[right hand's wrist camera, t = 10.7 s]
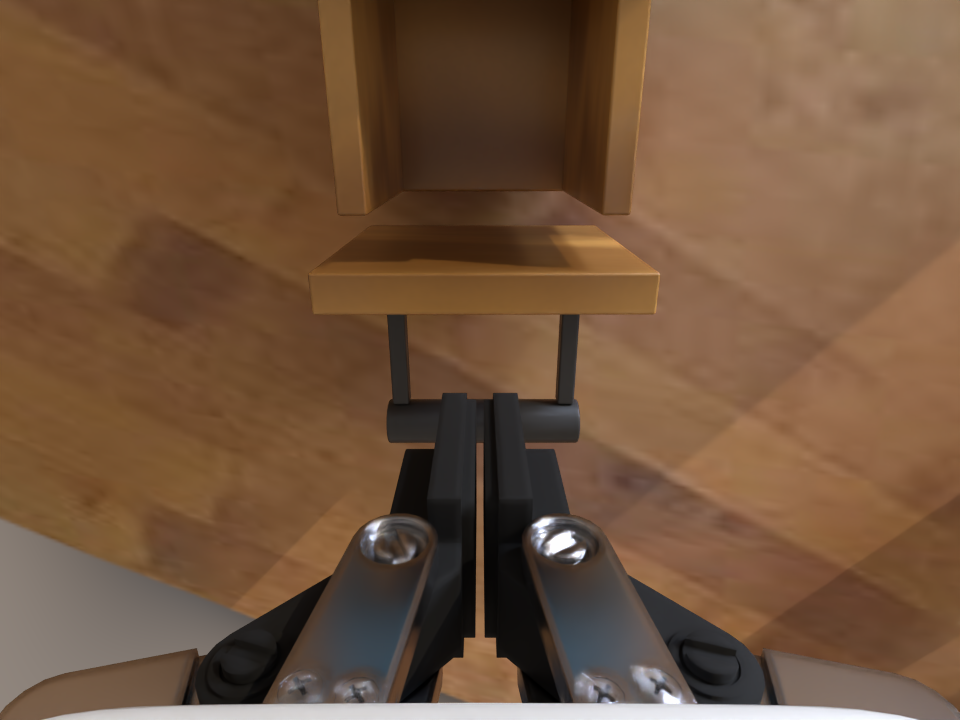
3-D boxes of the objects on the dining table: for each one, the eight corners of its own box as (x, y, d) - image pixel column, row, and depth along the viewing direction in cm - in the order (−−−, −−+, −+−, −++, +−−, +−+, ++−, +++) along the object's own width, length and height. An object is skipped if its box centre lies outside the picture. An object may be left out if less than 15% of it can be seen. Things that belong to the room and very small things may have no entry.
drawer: (584, 379, 26) (634, 494, 18) (380, 379, 26) (333, 494, 18) (632, -262, 18) (771, -632, 9) (333, -262, 18) (199, -631, 9)
